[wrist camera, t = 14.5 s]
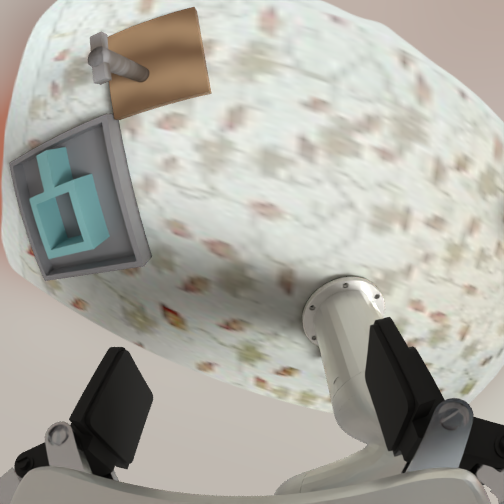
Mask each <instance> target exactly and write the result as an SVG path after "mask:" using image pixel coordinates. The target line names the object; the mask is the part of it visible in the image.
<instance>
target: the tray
mask: <svg viewBox="0 0 504 504" xmlns="http://www.w3.org/2000/svg"><path fill="white" fill-rule="evenodd" d="M63 147H66V150H67V155H68V160H69V164H70V169H71V173H72V177H73V180H74V179H77V178H80V177H83V176H86V175H89V174H92V175H93V179H94V183H95V187H96V191H97V195H98V199H99V202H100V206H101V209H102V213H103V216H104V219H105V223H106V226H107V229H108V232H109V235H110V237H108V238H107V239H106V240H105V241H103V242H102V243H101V244H100V245H98V246H97V247H96V248H95V249H91V250H87V251H82V252H78V253H74V254H69V255H65V256H60V257H56V258H52V259H48V256H47V253H46V251H45V248H44V245H43V242H42V239H41V236H40V233H39V230H38V227H37V224H36V221H35V218H34V214H33V211H32V207H31V204H30V200H29V199H30V198H32V197H34V196H36V195H38V194H41V193H43V192H44V188H43V184H42V180H41V176H40V171H39V167H38V162H37V157H36V156H37V155H38V154H40V153H42V152H44V151H46V150H51V149H57V148H63ZM9 164H10V170H11V175H12V179H13V184H14V188H15V193H16V197H17V201H18V204H19V208H20V212H21V215H22V219H23V222H24V225H25V229H26V232H27V235H28V238H29V241H30V244H31V247H32V250H33V252H34V255H35V258H36V260H37V263H38V266H39V268H40V271H41V273H42V276H43V278H44V280H45V281H48V280H54V279H61V278H68V277H74V276H81V275H88V274H94V273H101V272H108V271H115V270H121V269H128V268H135V267H142V266H145V264H146V263H147V262H148V261H149V260H150V258H151V257H152V255H151V252H150V249H149V245H148V242H147V239H146V235H145V232H144V228H143V225H142V221H141V218H140V214H139V210H138V206H137V202H136V199H135V195H134V191H133V186H132V182H131V178H130V174H129V169H128V165H127V160H126V156H125V151H124V146H123V141H122V136H121V130H120V125H119V120H115V119H114V114H105V115H102V116H100V117H98V118H95V119H93V120H90V121H88V122H86V123H84V124H81V125H79V126H77V127H75V128H73V129H71V130H69V131H66V132H64V133H62V134H60V135H58V136H56V137H54V138H53V139H51V140H49V141H47V142H45V143H43V144H41V145H39V146H38V147H36V148H34V149H32V150H31V151H29V152H27V153H25V154H24V155H22V156H20V157H19V158H17V159H15V160H14V161H12V162H11V163H9ZM55 198H56V201H57V205H58V208H59V212H60V215H61V218H62V222H63V225H64V228H65V231H66V234H67V237H68V238H71V237H75V236H79V235H82V234H81V231H80V228H79V225H78V222H77V219H76V215H75V212H74V209H73V205H72V202H71V198H70V194H69V192H67V193H64V194H62V195H59V196H56V197H55Z"/></svg>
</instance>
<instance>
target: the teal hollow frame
mask: <svg viewBox="0 0 504 504" xmlns="http://www.w3.org/2000/svg"><path fill="white" fill-rule="evenodd" d="M36 157H37V162H38V167H39V171H40V176H41V180H42V184H43V188H44V192H43V193H41V194H38V195H36V196H34V197H32V198H30V199H29V200H30V204H31V207H32V211H33V214H34V218H35V221H36V224H37V227H38V230H39V233H40V236H41V239H42V242H43V245H44V248H45V251H46V253H47V256H48V259H52V258H56V257H60V256H65V255H69V254H74V253H78V252H82V251H87V250H91V249H95V248H96V247H97V246H98V245H100V244H101V243H102V242H103V241H105V240H106V239H107V238H108V237H110V235H109V232H108V229H107V226H106V223H105V219H104V216H103V213H102V209H101V206H100V202H99V199H98V195H97V191H96V187H95V183H94V179H93V175H92V174H89V175H86V176H83V177H80V178H77V179H74V180H73V177H72V173H71V169H70V164H69V160H68V155H67V150H66V147H63V148H57V149H51V150H46V151H44V152H42V153H40V154H38V155H37V156H36ZM67 192H69V194H70V198H71V202H72V205H73V209H74V212H75V215H76V219H77V222H78V225H79V228H80V231H81V234H82V235H79V236H75V237H71V238H68V237H67V234H66V231H65V228H64V225H63V222H62V218H61V215H60V212H59V208H58V205H57V201H56V198H55V197H56V196H59V195H62V194H64V193H67Z"/></svg>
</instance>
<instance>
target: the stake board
mask: <svg viewBox="0 0 504 504" xmlns="http://www.w3.org/2000/svg"><path fill="white" fill-rule="evenodd" d="M90 46H91V52H90V54H89V56H88V63H89V65H90V66H92V70H93V80H94V83H96V84H100V85H101V84H103V83H105V82H108V81H109V86H110V93H111V100H112V107H113V113H114V119H115V120H121V119H124V118H127V117H130V116H133V115H136V114H139V113H142V112H145V111H148V110H151V109H154V108H158V107H161V106H164V105H168V104H171V103H175V102H179V101H183V100H186V99H190V98H194V97H199V96H203V95H207V94H211V89H210V83H209V78H208V72H207V67H206V61H205V55H204V50H203V44H202V38H201V32H200V27H199V21H198V15H197V11H196V9H195V7H192V8H188V9H184V10H181V11H177V12H174V13H170V14H167V15H164V16H161V17H158V18H155V19H152V20H149V21H146V22H143V23H141V24H138V25H135V26H133V27H130V28H128V29H125V30H123V31H121V32H118V33H116V34H114V35H111V36H109V37H107V34H105V33H103V32H99V33H97V34H95V35H93V36H91V37H90Z"/></svg>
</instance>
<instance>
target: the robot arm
mask: <svg viewBox="0 0 504 504" xmlns="http://www.w3.org/2000/svg"><path fill="white" fill-rule="evenodd" d="M384 313H385V301H384V297H383V295H382V293H381V292H380V290H379V289H378V288H377V286H376V285H374V284H373V283H372V282H370V281H368V280H366V279H364V278H360V277H343V278H339V279H335V280H333V281H331V282H328V283H326V284H325V285H323V286H322V287H320V288H319V289H318V290H317V291H316V292H315V293H313V294H312V296H311V297H310V298H309V300H308V301H307V303H306V305H305V307H304V311H303V314H302V323H303V328H304V331H305V334H306V335H307V337H308V339H309V340H310V341H311V342H313V343H314V344H315V345H317V346H319V349H320V353H321V357H322V361H323V366H324V370H325V374H326V379H327V383H328V388H329V393H330V397H331V402H332V407H333V411H334V415H335V419H336V421H337V423H338V425H339V426H340V427H341V429H342V430H343V431H344V432H345V433H347V434H348V435H349V436H351V437H353V438H355V439H357V440H359V441H361V442H363V443H366V444H367V446H366V447H365V448H364V449H362V450H360V451H358V452H356V453H354V454H352V455H350V456H349V457H346V458H344V459H341V460H338V461H336V462H333V463H330V464H328V465H325V466H322V467H319V468H316V469H313V470H310V471H307V472H304V473H302V474H299V475H296V476H294V477H292V478H290V479H288V480H287V481H285V482H284V483H283V484H282V485H281V486H280V487H279V488H278V489H277V490H276V492H275V494H274V495H273V496H213V495H199V494H188V493H180V492H171V491H165V490H159V489H153V488H147V487H142V486H137V485H132V484H128V483H124V482H119V480H118V478H117V476H116V474H115V472H114V467H115V466H116V467H120V468H124V469H128V466H129V464H130V463H132V461H133V459H134V455H135V452H136V449H137V446H138V443H139V440H140V436H141V434H142V431H143V428H144V425H145V422H146V419H147V416H148V413H149V410H150V407H151V404H152V401H153V394H152V392H151V390H150V389H149V387H148V385H147V383H146V382H145V380H144V378H143V377H142V375H141V373H140V371H139V370H138V368H137V366H136V364H135V362H134V360H133V359H132V357H131V355H130V353H129V352H128V351H126V350H125V348H123V347H111V348H109V349H108V351H107V353H106V354H105V356H104V358H103V359H102V361H101V363H100V364H99V366H98V368H97V370H96V371H95V373H94V375H93V377H92V378H91V380H90V382H89V384H88V385H87V387H86V389H85V390H84V392H83V394H82V396H81V398H80V400H79V401H78V403H77V405H76V407H75V409H74V411H73V413H72V414H71V416H70V418H69V420H70V421H71V422H72V423H71V425H69V424H68V423H66V422H57V423H55V424H53V425H51V426H50V427H49V428H48V430H47V432H46V434H45V443H42V444H40V445H38V446H36V447H34V448H32V449H30V450H27V451H25V452H23V453H21V454H20V455H19V456H18V457H17V459H16V461H15V469H13V468H11V469H10V470H9V471H8V472H6V473H5V474H4V475H3V476H2V477H0V504H491V502H490V500H489V498H488V495H487V493H486V491H485V489H484V487H483V485H486V486H488V487H489V488H490V489H491V491H490V492H491V493H493V494H494V495H495V496H496V497H497V498H498V502H499V504H504V425H501V424H497V423H493V422H490V421H486V420H483V419H480V418H476V417H473V411H472V408H471V407H470V405H469V404H468V403H467V402H465V401H464V400H461V399H457V398H451V399H446V400H444V398H443V396H442V394H441V392H440V390H439V389H438V387H437V385H436V383H435V381H434V379H433V377H432V376H431V374H430V372H429V370H428V369H427V367H426V365H425V363H424V361H423V360H422V358H421V356H420V355H419V353H418V351H417V350H416V348H414V347H409V348H408V346H407V344H406V343H405V341H404V339H403V337H402V336H401V334H400V332H399V331H398V329H397V327H396V325H395V324H394V322H393V321H392V319H391V318H390V317H387V318H383V317H384Z"/></svg>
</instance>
